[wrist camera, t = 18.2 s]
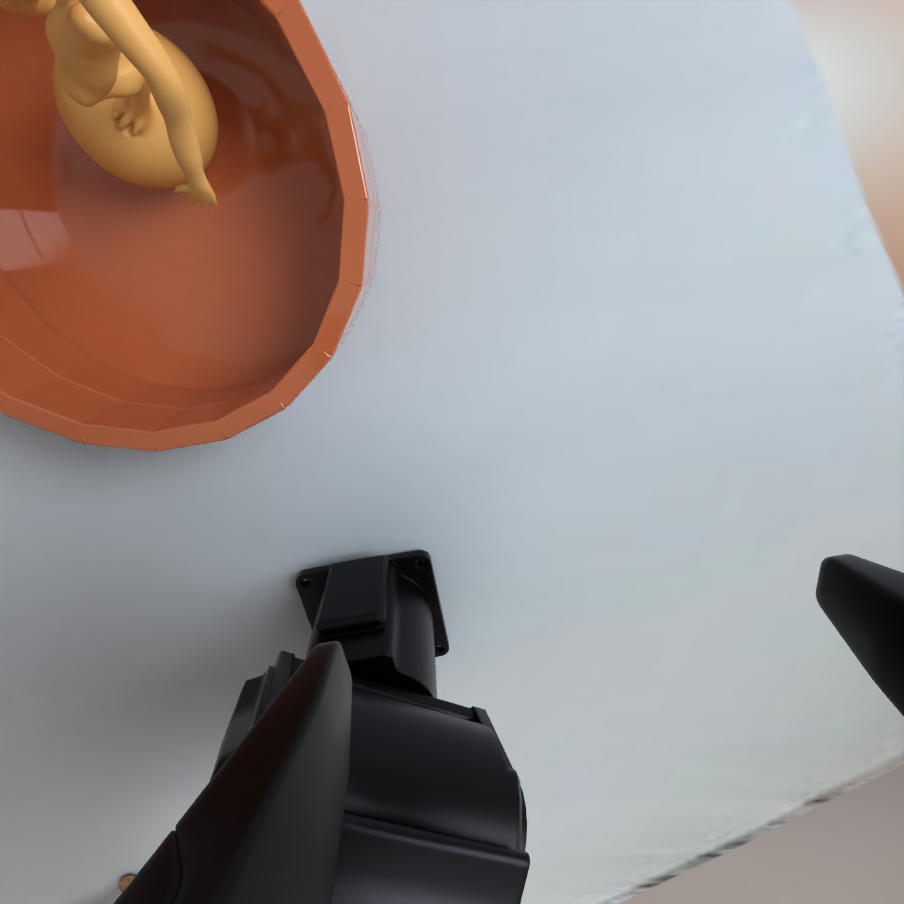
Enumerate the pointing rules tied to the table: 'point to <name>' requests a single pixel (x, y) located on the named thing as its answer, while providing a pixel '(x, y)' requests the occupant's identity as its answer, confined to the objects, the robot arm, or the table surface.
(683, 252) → the table surface
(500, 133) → the table surface
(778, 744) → the table surface
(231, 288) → the pot
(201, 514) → the table surface
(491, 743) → the robot arm
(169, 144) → the figurine
